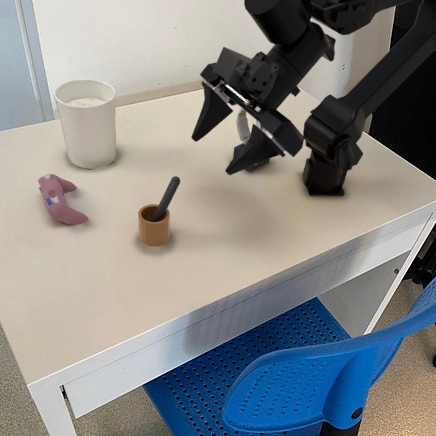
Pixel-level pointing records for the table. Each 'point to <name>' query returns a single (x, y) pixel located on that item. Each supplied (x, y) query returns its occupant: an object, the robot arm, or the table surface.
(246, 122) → the watch
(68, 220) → the video game controller
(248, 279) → the table surface
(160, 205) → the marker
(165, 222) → the brown wooden cup
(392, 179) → the table surface
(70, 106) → the candle holder
